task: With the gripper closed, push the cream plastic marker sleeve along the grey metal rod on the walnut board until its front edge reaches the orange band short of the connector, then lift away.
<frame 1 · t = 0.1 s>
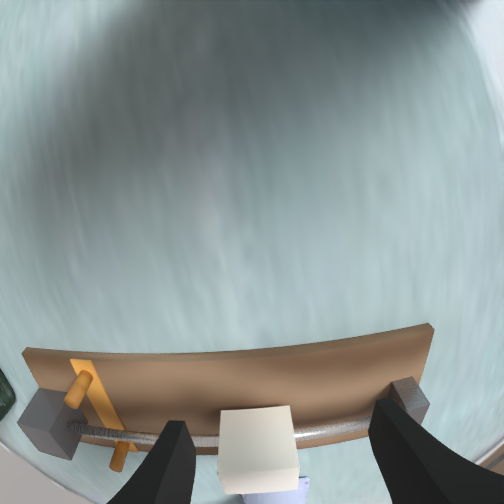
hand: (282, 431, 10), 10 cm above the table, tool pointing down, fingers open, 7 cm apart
walnut board: (219, 407, 23), on the table
sleeve: (258, 451, 18), point 5 cm above the table, slide at 0.0 cm
metal rod: (219, 407, 23), resting on walnut board
connector: (53, 423, 19), point 4 cm above the table
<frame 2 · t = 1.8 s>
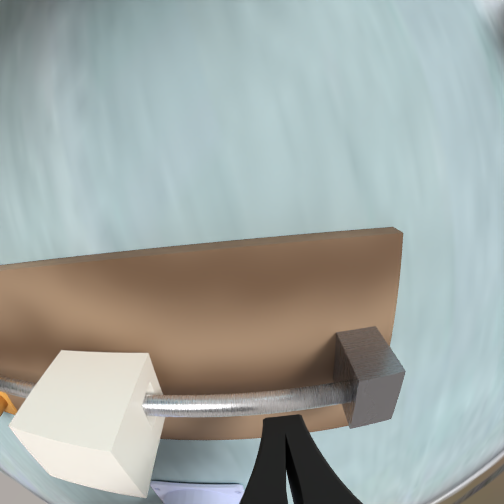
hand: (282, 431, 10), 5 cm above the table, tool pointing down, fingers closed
walnut board: (80, 356, 15), on the table
sleeve: (94, 419, 10), point 5 cm above the table, slide at 0.0 cm
metal rod: (80, 356, 15), resting on walnut board
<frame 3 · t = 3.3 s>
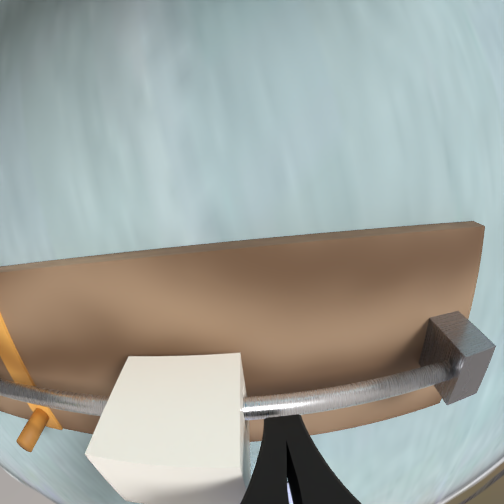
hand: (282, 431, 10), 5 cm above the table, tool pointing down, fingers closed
walnut board: (155, 361, 15), on the table
sleeve: (181, 431, 10), point 5 cm above the table, slide at 0.8 cm, touching gripper
metal rod: (155, 361, 15), resting on walnut board
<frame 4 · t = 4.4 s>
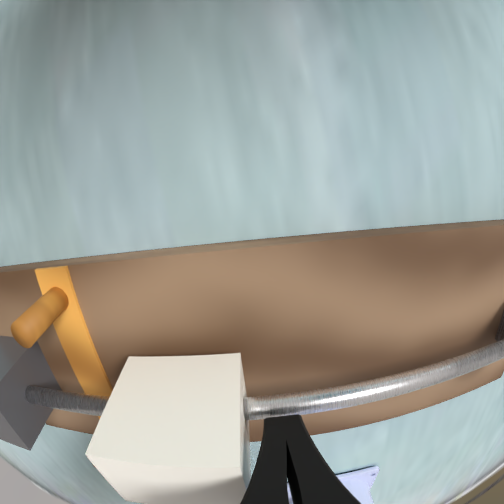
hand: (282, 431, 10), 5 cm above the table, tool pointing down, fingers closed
walnut board: (278, 354, 15), on the table
sleeve: (181, 431, 10), point 5 cm above the table, slide at 7.2 cm, touching gripper
metal rod: (278, 354, 15), resting on walnut board
connector: (8, 389, 11), point 4 cm above the table
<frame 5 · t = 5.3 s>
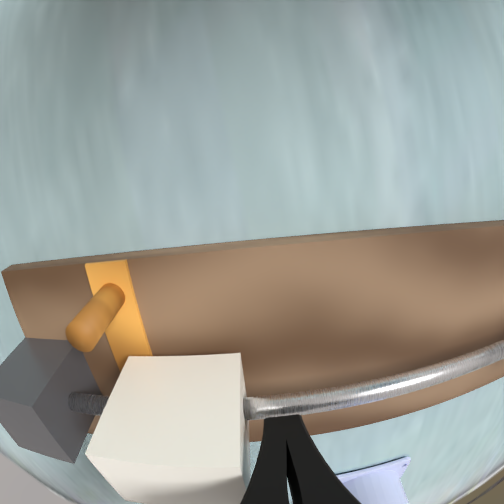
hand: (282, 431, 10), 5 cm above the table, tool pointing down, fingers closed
walnut board: (338, 347, 15), on the table
sleeve: (181, 431, 10), point 5 cm above the table, slide at 10.3 cm, touching gripper
metal rod: (338, 347, 15), resting on walnut board
connector: (44, 396, 11), point 4 cm above the table
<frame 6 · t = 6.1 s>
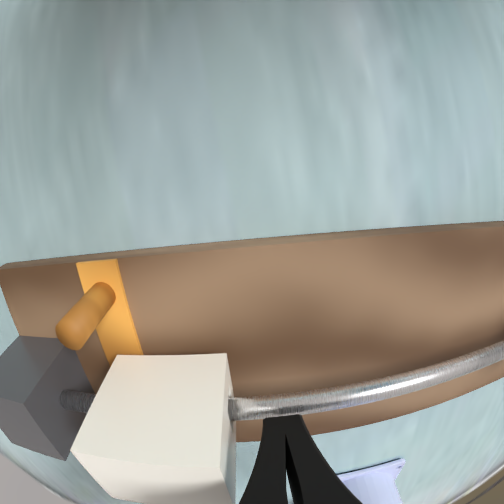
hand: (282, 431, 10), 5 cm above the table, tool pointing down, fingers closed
walnut board: (330, 348, 15), on the table
sleeve: (167, 430, 10), point 5 cm above the table, slide at 10.4 cm
metal rod: (330, 348, 15), resting on walnut board
connector: (37, 394, 11), point 4 cm above the table
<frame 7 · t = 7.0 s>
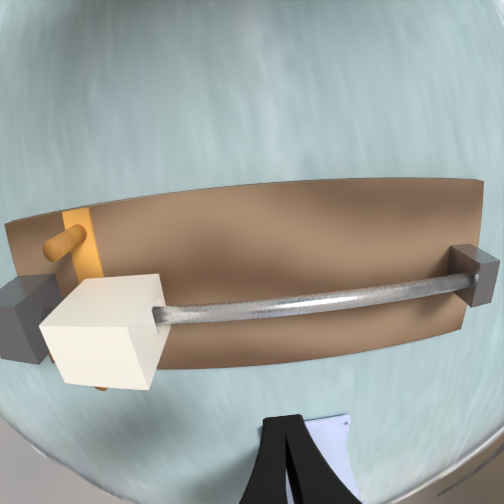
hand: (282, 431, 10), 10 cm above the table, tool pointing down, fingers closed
walnut board: (247, 281, 19), on the table
sleeve: (110, 327, 15), point 5 cm above the table, slide at 10.4 cm
metal rod: (247, 281, 19), resting on walnut board
connector: (25, 316, 16), point 4 cm above the table
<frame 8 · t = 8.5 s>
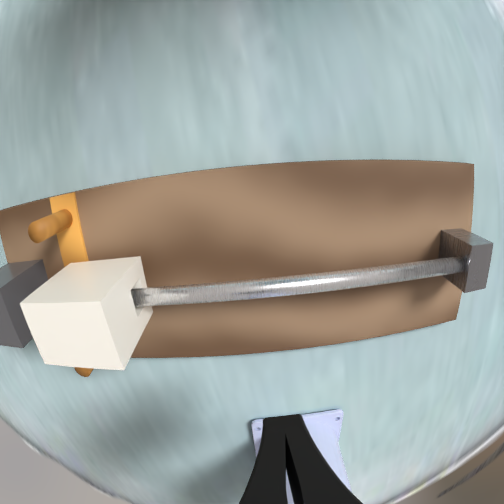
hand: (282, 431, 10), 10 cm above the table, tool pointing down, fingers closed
walnut board: (230, 266, 19), on the table
sleeve: (91, 309, 14), point 5 cm above the table, slide at 10.4 cm
metal rod: (230, 266, 19), resting on walnut board
connector: (13, 301, 16), point 4 cm above the table
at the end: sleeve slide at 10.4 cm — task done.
